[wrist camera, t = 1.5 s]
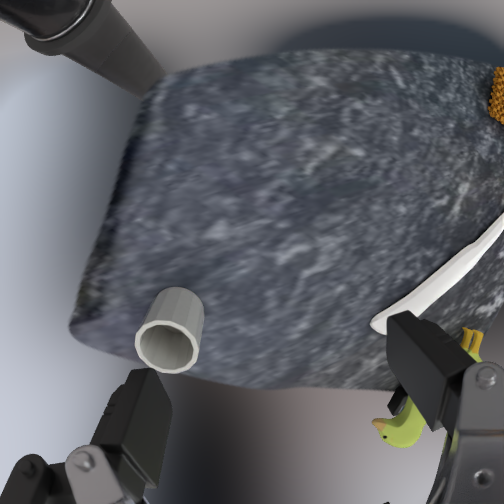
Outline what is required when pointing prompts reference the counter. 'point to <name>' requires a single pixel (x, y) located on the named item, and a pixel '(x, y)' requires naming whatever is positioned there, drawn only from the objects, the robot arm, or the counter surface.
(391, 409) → the multiport hub
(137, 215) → the counter surface
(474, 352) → the toy
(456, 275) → the white long flat piece
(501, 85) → the ornament
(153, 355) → the pot
